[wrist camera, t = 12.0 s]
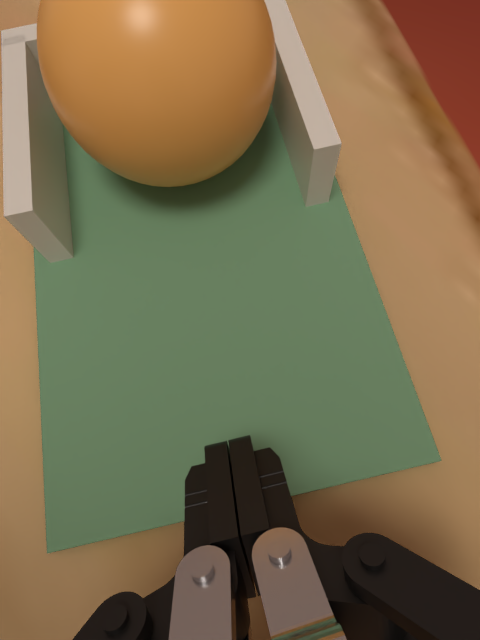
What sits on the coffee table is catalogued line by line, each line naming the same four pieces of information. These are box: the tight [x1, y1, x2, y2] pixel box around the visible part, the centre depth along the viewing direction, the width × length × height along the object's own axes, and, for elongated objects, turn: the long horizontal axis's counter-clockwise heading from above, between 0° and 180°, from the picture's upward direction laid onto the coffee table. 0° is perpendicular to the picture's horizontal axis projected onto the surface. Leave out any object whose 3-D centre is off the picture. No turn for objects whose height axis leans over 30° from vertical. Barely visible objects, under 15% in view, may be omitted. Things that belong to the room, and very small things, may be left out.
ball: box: [37, 0, 277, 187], centre depth 19 cm, size 10×10×10 cm
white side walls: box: [1, 0, 342, 263], centre depth 21 cm, size 12×14×4 cm
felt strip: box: [34, 104, 442, 553], centre depth 21 cm, size 26×16×1 cm, turn 12°
